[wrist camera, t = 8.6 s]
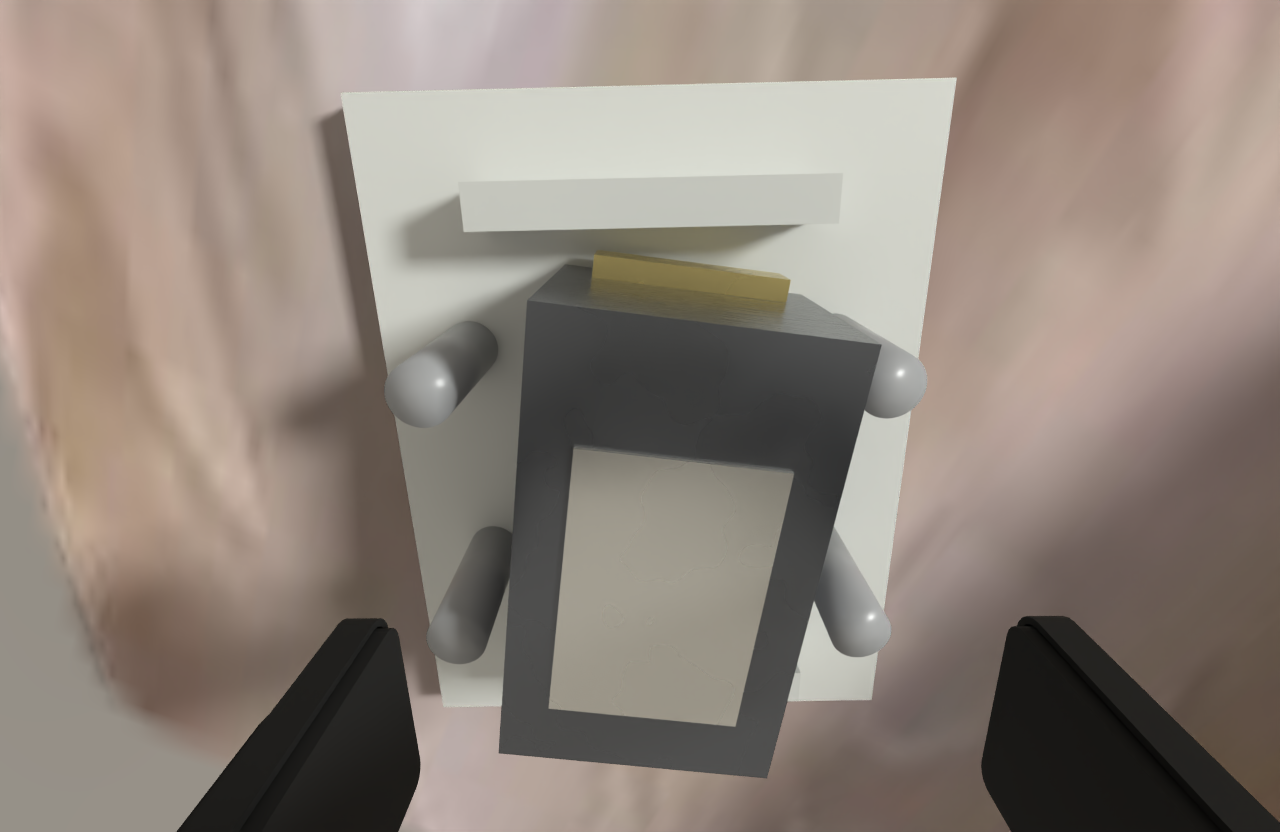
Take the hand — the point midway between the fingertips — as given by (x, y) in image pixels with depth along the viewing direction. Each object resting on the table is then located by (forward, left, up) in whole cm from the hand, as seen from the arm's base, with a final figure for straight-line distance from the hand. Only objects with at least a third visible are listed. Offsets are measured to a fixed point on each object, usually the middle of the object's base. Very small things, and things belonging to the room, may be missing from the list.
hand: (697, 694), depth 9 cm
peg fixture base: (+1, +1, -9) cm, 9 cm away
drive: (0, 0, -8) cm, 8 cm away
